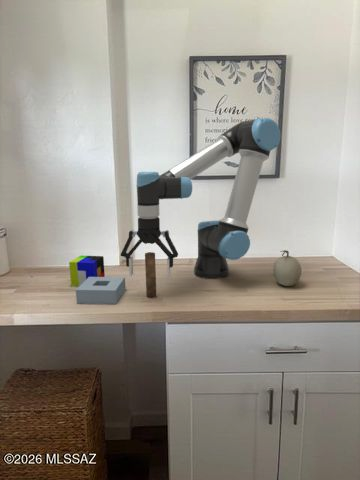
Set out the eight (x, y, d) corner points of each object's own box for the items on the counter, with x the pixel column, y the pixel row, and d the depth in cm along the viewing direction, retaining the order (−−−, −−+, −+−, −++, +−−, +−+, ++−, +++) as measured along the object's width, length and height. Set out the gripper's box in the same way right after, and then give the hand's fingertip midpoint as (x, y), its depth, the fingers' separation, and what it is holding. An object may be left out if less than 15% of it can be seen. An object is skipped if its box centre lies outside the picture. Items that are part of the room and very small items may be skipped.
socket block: (125, 289, 135) (125, 277, 133) (116, 304, 121) (115, 290, 120) (90, 289, 136) (89, 276, 135) (76, 303, 122) (75, 289, 121)
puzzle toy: (94, 287, 138) (92, 263, 135) (71, 286, 140) (69, 262, 137) (104, 279, 147) (103, 256, 145) (82, 278, 149) (81, 255, 147)
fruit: (294, 279, 143) (296, 243, 140) (304, 289, 132) (307, 250, 128) (268, 280, 143) (270, 244, 139) (277, 290, 132) (279, 251, 128)
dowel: (157, 294, 129) (155, 252, 126) (155, 297, 126) (154, 254, 122) (147, 294, 130) (145, 252, 126) (145, 297, 126) (144, 254, 123)
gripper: (185, 215, 124) (185, 273, 129) (116, 215, 126) (118, 271, 131) (183, 219, 117) (183, 279, 121) (110, 218, 119) (113, 278, 123)
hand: (149, 275), depth 126 cm, fingers open, 13 cm apart
